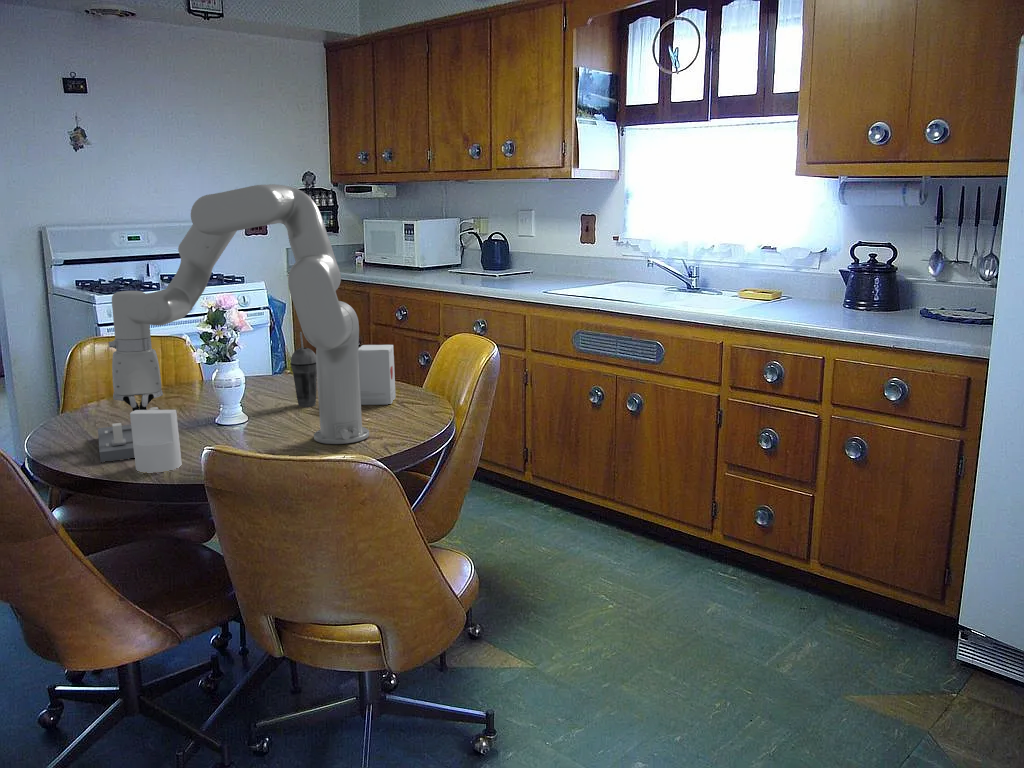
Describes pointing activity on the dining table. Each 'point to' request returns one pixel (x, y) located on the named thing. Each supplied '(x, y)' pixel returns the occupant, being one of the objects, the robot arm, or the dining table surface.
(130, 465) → the dining table surface
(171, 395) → the dining table surface
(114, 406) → the dining table surface
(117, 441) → the block
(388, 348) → the supplement box
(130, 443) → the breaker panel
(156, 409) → the breaker
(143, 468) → the grey upright block
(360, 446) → the dining table surface
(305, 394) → the beverage cup
